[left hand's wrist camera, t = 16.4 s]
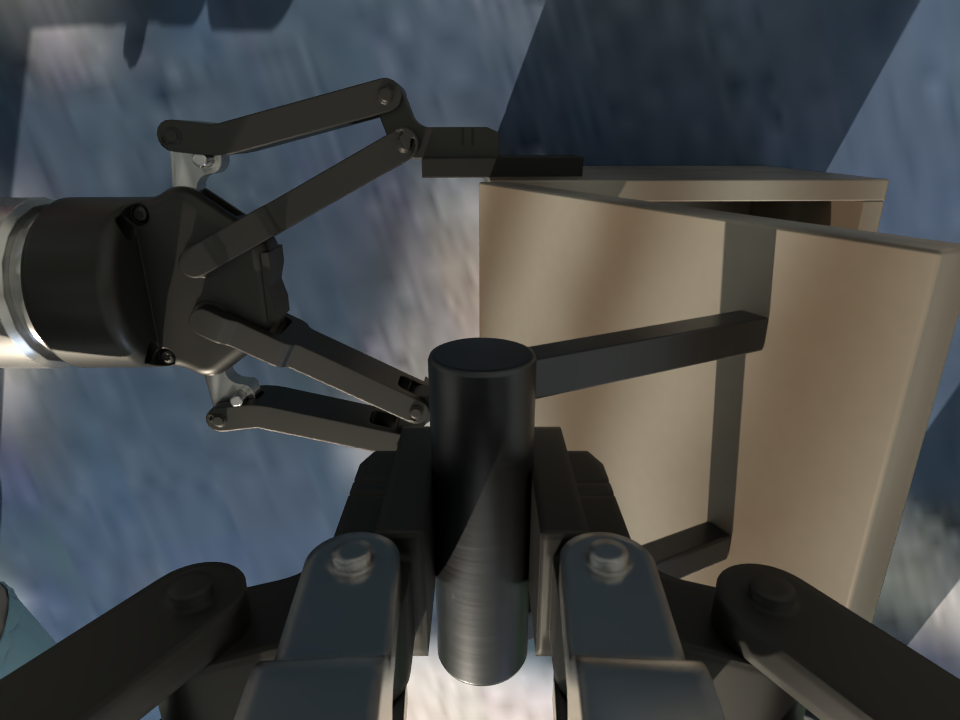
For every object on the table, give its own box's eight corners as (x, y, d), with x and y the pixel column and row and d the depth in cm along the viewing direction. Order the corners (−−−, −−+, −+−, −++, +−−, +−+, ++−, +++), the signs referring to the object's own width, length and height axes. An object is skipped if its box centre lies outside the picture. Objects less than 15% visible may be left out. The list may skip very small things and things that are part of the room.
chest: (764, 165, 33) (889, 179, 23) (739, 330, 36) (839, 403, 26) (484, 166, 33) (490, 180, 23) (484, 331, 36) (489, 406, 26)
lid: (980, 246, 10) (542, 308, 6) (854, 691, 13) (522, 891, 9) (503, 181, 23) (279, 190, 19) (501, 409, 26) (308, 451, 22)
